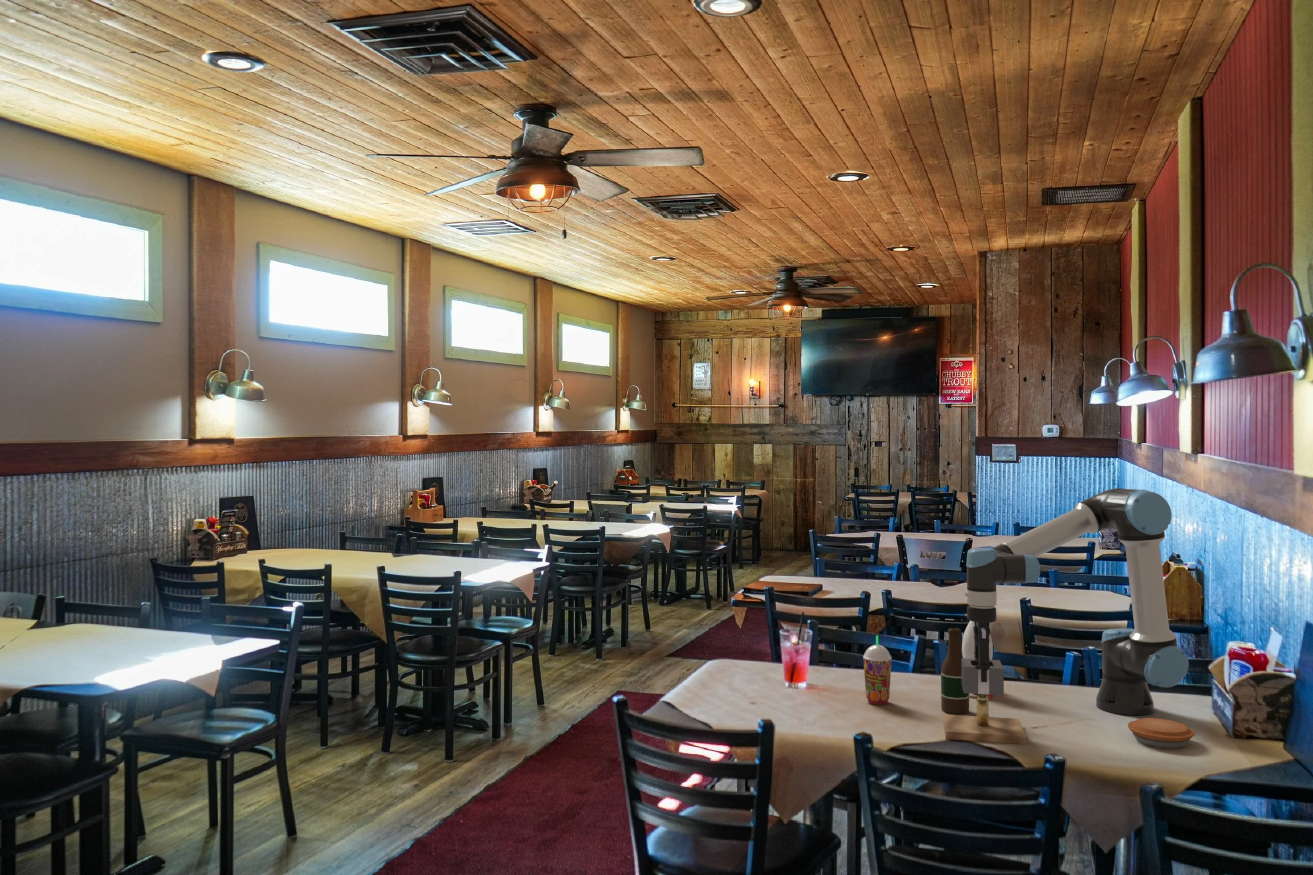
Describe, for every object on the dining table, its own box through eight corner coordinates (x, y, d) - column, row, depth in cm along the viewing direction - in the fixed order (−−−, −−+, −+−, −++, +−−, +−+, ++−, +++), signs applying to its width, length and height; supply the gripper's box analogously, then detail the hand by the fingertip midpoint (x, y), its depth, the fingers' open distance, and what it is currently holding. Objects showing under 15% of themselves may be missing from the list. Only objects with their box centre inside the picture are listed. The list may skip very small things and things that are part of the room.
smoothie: (861, 704, 287) (860, 637, 287) (866, 697, 295) (865, 632, 295) (889, 707, 284) (889, 639, 284) (894, 699, 292) (893, 634, 292)
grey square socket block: (999, 685, 263) (999, 660, 263) (1003, 695, 253) (1003, 668, 253) (961, 683, 265) (961, 658, 265) (963, 692, 256) (963, 666, 256)
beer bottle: (970, 715, 275) (970, 631, 275) (942, 714, 276) (941, 630, 276) (967, 708, 282) (966, 626, 282) (940, 706, 284) (939, 625, 284)
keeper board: (1018, 725, 265) (1018, 718, 265) (1026, 743, 249) (1026, 736, 249) (942, 721, 269) (942, 714, 269) (945, 738, 254) (945, 731, 254)
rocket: (1000, 691, 300) (999, 611, 300) (992, 699, 291) (991, 616, 291) (964, 686, 306) (963, 608, 306) (955, 694, 297) (954, 613, 297)
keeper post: (988, 723, 260) (987, 692, 260) (989, 726, 257) (988, 695, 257) (976, 722, 261) (976, 691, 261) (977, 726, 258) (977, 694, 258)
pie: (1166, 755, 239) (1166, 735, 239) (1114, 737, 254) (1114, 718, 254) (1209, 747, 246) (1208, 727, 246) (1155, 730, 260) (1155, 711, 260)
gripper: (964, 598, 271) (964, 677, 271) (970, 612, 249) (970, 698, 249) (992, 599, 269) (992, 679, 269) (1000, 613, 247) (1001, 700, 247)
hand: (981, 688), depth 259 cm, fingers closed on grey square socket block, 10 cm apart
